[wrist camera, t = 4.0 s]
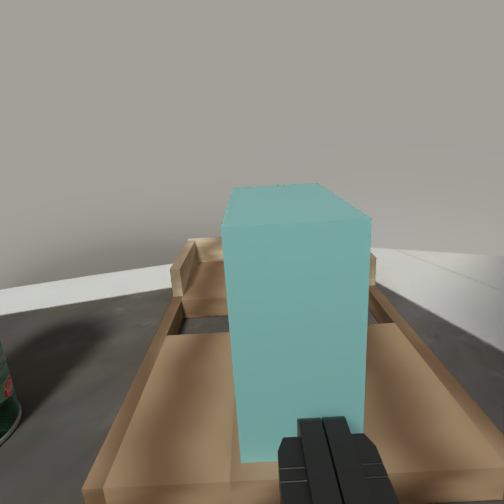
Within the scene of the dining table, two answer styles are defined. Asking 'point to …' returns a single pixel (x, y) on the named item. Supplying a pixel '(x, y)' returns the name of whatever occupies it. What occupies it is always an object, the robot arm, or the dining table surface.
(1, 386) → the canned tomato
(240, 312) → the teal box
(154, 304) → the dining table surface
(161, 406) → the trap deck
